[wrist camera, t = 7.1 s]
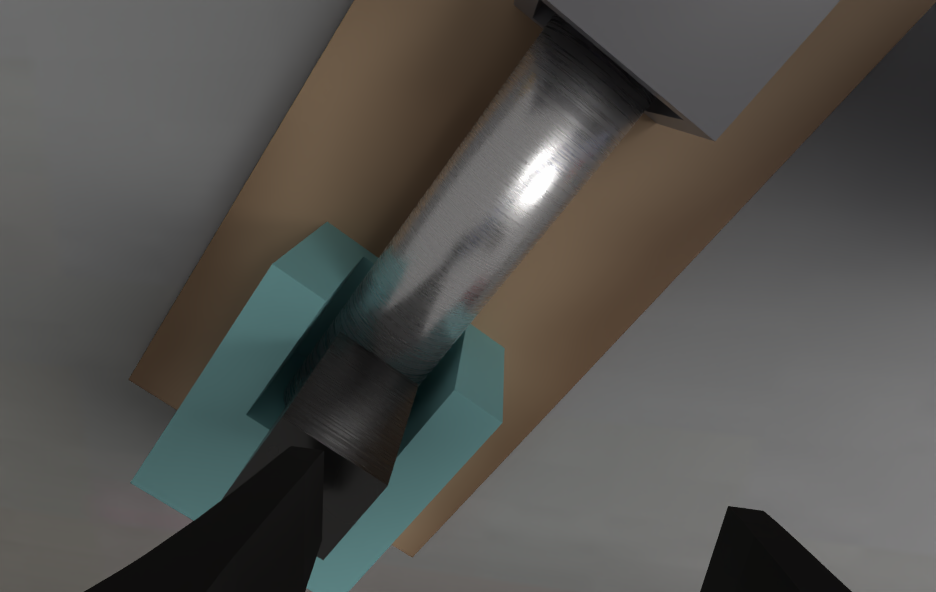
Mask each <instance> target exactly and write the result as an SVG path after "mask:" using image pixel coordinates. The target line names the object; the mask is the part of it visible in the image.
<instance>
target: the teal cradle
mask: <svg viewBox="0 0 936 592" xmlns="http://www.w3.org/2000/svg"><path fill="white" fill-rule="evenodd" d="M377 259H378V257H376V256H375V255H374V254H372V253H371V252H369V251H368V250H367V249H365V248H364V247H362V246H361V245H360V244H358V243H357V242H355V241H354V240H353V239H351V238H350V237H348V236H347V235H346V234H344V233H343V232H341V231H340V230H339V229H337V228H336V227H334V226H333V225H332V224H330V223H329V222H326V223H325V224H323V225H322V226H321V227H319V228H318V229H317V230H316V231H314V232H313V233H312V234H310V235H309V236H308V237H306V238H305V239H304V240H303V241H301V242H300V243H299V244H297V245H296V246H295V247H294V248H292V249H291V250H290V251H288V252H287V253H286V254H284V255H283V256H282V257H281V258H279V259H278V260H277V261H275V262H274V263H273V264H272V265H271V267H270V268H269V270H268V271H267V273H266V274H265V276H264V277H263V279H262V281H261V282H260V284H259V285H258V287H257V288H256V290H255V291H254V293H253V294H252V296H251V297H250V299H249V301H248V302H247V304H246V305H245V307H244V308H243V310H242V311H241V313H240V314H239V316H238V318H237V319H236V321H235V322H234V324H233V325H232V327H231V328H230V330H229V331H228V333H227V334H226V336H225V338H224V339H223V341H222V342H221V344H220V345H219V347H218V348H217V350H216V351H215V353H214V355H213V356H212V358H211V359H210V361H209V362H208V364H207V365H206V367H205V368H204V370H203V372H202V373H201V375H200V376H199V378H198V379H197V381H196V382H195V384H194V385H193V387H192V388H191V390H190V392H189V393H188V395H187V396H186V398H185V399H184V401H183V402H182V404H181V405H180V407H179V409H178V410H177V412H176V413H175V415H174V416H173V418H172V419H171V421H170V422H169V424H168V426H167V427H166V429H165V430H164V432H163V433H162V435H161V436H160V438H159V439H158V441H157V442H156V444H155V446H154V447H153V449H152V450H151V452H150V453H149V455H148V456H147V458H146V459H145V461H144V463H143V464H142V466H141V467H140V469H139V470H138V472H137V473H136V475H135V476H134V478H133V479H132V481H131V484H133V485H135V486H137V487H138V488H140V489H142V490H143V491H145V492H147V493H148V494H150V495H152V496H153V497H155V498H157V499H158V500H160V501H162V502H163V503H165V504H167V505H168V506H170V507H172V508H173V509H175V510H177V511H178V512H180V513H182V514H183V515H185V516H187V517H188V518H190V519H192V520H193V521H194V520H196V519H197V518H198V517H200V516H201V515H202V514H204V513H205V512H206V511H208V510H209V509H210V508H212V507H213V506H214V505H216V504H217V503H218V502H220V501H221V500H222V498H223V497H224V495H225V494H226V492H227V491H228V490H229V488H230V487H231V485H232V484H233V482H234V481H235V479H236V478H237V476H238V475H239V474H240V472H241V471H242V469H243V468H244V466H245V465H246V463H247V462H248V461H249V459H250V458H251V456H252V455H253V453H254V452H255V450H256V449H257V447H258V446H259V445H260V443H261V442H262V440H263V439H264V437H265V436H266V434H267V433H268V432H269V430H270V429H271V427H272V426H273V424H274V423H275V421H276V420H277V418H278V417H279V416H280V414H281V413H282V411H283V410H284V408H285V404H284V391H285V388H286V386H287V384H288V383H289V382H290V380H291V379H292V377H293V376H294V375H295V373H296V372H297V370H298V369H299V368H300V366H301V365H302V364H303V362H304V361H305V359H306V358H307V357H308V355H309V354H310V352H311V351H312V350H313V348H314V347H315V345H316V344H317V343H318V341H319V340H320V339H321V337H322V336H323V334H324V333H325V332H326V330H327V329H328V327H329V326H330V325H331V323H332V322H333V320H334V319H335V318H336V316H337V315H338V314H339V312H340V311H341V309H342V308H343V307H344V305H345V304H346V302H347V301H348V300H349V298H350V297H351V296H352V294H353V293H354V291H355V290H356V289H357V287H358V286H359V284H360V283H361V282H362V280H363V279H364V277H365V276H366V275H367V273H368V272H369V271H370V269H371V268H372V266H373V265H374V264H375V262H376V261H377ZM504 351H505V348H504V347H502V346H501V345H500V344H498V343H497V342H495V341H494V340H493V339H491V338H490V337H488V336H487V335H486V334H484V333H483V332H481V331H480V330H479V329H477V328H476V327H474V326H473V325H472V324H470V325H469V326H468V327H467V328H466V330H465V331H464V332H463V333H462V334H461V336H460V337H459V338H458V339H457V340H456V342H455V343H454V344H453V345H452V347H451V348H450V349H449V350H448V351H447V353H446V354H445V355H444V356H443V357H442V359H441V360H440V361H439V362H438V364H437V365H436V366H435V367H434V368H433V370H432V371H431V372H430V373H429V374H428V376H427V377H426V378H425V379H424V381H423V382H422V383H421V384H420V385H419V387H418V388H417V392H416V395H415V398H414V402H413V405H412V408H411V411H410V415H409V418H408V421H407V425H406V428H405V431H404V434H403V438H402V441H401V444H400V448H399V451H398V454H397V457H396V461H395V464H394V467H393V471H392V474H391V477H390V480H389V484H388V486H387V487H386V489H385V490H384V491H383V492H382V493H381V494H380V496H379V497H378V498H377V499H376V500H375V501H374V502H373V504H372V505H371V506H370V507H369V508H368V509H367V511H366V512H365V513H364V514H363V515H362V516H361V517H360V519H359V520H358V521H357V522H356V523H355V524H354V526H353V527H352V528H351V529H350V530H349V531H348V532H347V534H346V535H345V536H344V537H343V538H342V539H341V541H340V542H339V543H338V544H337V545H336V546H335V547H334V549H333V550H332V551H331V552H330V553H329V554H328V556H327V557H326V558H325V559H324V560H322V559H320V558H318V557H316V560H315V564H314V567H313V570H312V573H311V576H310V579H309V581H308V584H307V587H306V588H307V589H309V590H311V591H312V592H348V591H349V590H350V589H351V588H352V587H353V586H354V585H355V584H356V583H357V582H358V581H359V579H360V578H361V577H362V576H363V575H364V574H365V573H366V572H367V571H368V570H369V568H370V567H371V566H372V565H373V564H374V563H375V562H376V561H377V560H378V559H379V558H380V556H381V555H382V554H383V553H384V552H385V551H386V550H387V549H388V548H389V547H390V546H391V544H392V543H393V542H394V541H395V540H396V539H397V538H398V537H399V536H400V535H401V533H402V532H403V531H404V530H405V529H406V528H407V527H408V526H409V525H410V524H411V523H412V521H413V520H414V519H415V518H416V517H417V516H418V515H419V514H420V513H421V512H422V510H423V509H424V508H425V507H426V506H427V505H428V504H429V503H430V502H431V501H432V500H433V498H434V497H435V496H436V495H437V494H438V493H439V492H440V491H441V490H442V489H443V487H444V486H445V485H446V484H447V483H448V482H449V481H450V480H451V479H452V478H453V477H454V475H455V474H456V473H457V472H458V471H459V470H460V469H461V468H462V467H463V466H464V465H465V463H466V462H467V461H468V460H469V459H470V458H471V457H472V456H473V455H474V454H475V452H476V451H477V450H478V449H479V448H480V447H481V446H482V445H483V444H484V443H485V442H486V440H487V439H488V438H489V437H490V436H491V435H492V434H493V433H494V432H495V431H496V429H497V428H498V427H499V426H500V425H501V424H502V423H503V388H504Z"/></svg>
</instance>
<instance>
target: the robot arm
mask: <svg viewBox="0 0 936 592" xmlns="http://www.w3.org/2000/svg"><path fill="white" fill-rule="evenodd" d="M323 477H324V450H318V449H310V448H303V447H296V446H290V447H289V448H287V449H286V450H285V451H283V452H282V453H281V454H279V455H278V456H277V457H276V458H274V459H273V460H272V461H270V462H269V463H268V464H267V465H265V466H264V467H263V468H262V469H261V470H259V471H258V472H257V473H256V474H254V475H253V476H252V477H251V478H249V479H248V480H247V481H245V482H244V483H243V484H242V485H240V486H239V487H238V488H237V489H235V490H234V491H233V492H231V493H230V494H229V495H228V496H226V497H225V498H224V499H222V500H221V501H220V502H218V503H217V504H216V505H214V506H213V507H212V508H210V509H209V510H208V511H206V512H205V513H204V514H202V515H201V516H200V517H198V518H197V519H196V520H194V521H193V522H192V523H190V524H189V525H187V526H186V527H184V528H183V529H182V530H180V531H179V532H177V533H176V534H174V535H173V536H171V537H170V538H169V539H167V540H166V541H164V542H163V543H161V544H160V545H158V546H157V547H156V548H154V549H153V550H151V551H150V552H148V553H147V554H145V555H144V556H142V557H141V558H139V559H138V560H136V561H134V562H133V563H131V564H130V565H128V566H127V567H125V568H123V569H122V570H120V571H118V572H117V573H115V574H113V575H112V576H110V577H108V578H107V579H105V580H103V581H102V582H100V583H98V584H96V585H95V586H93V587H91V588H90V589H88V590H86V591H84V592H305V590H306V587H307V584H308V581H309V579H310V576H311V573H312V570H313V567H314V564H315V560H316V557H317V554H318V551H319V548H320V545H321V542H322V521H323ZM700 592H852V591H850V590H849V589H848V588H847V587H846V586H845V585H844V584H843V583H842V582H841V581H840V580H839V579H837V578H836V577H835V576H834V575H833V574H832V573H831V572H830V571H829V570H828V569H827V568H826V567H825V566H824V565H822V564H821V563H820V562H819V561H818V560H817V559H816V558H815V557H814V556H813V555H812V554H811V553H810V552H809V551H808V550H806V549H805V548H804V547H803V546H802V545H801V544H800V543H799V542H798V541H797V540H796V539H795V538H794V537H792V536H791V535H790V534H789V533H788V532H787V531H786V530H785V529H784V528H783V527H782V526H780V525H779V524H778V523H777V522H776V521H775V520H774V519H772V518H771V517H770V516H769V515H768V514H767V513H765V512H764V511H760V510H753V509H746V508H738V507H731V506H728V508H727V511H726V514H725V517H724V521H723V524H722V527H721V530H720V533H719V536H718V539H717V542H716V545H715V548H714V551H713V554H712V557H711V560H710V564H709V567H708V570H707V573H706V576H705V579H704V582H703V585H702V588H701V591H700Z"/></svg>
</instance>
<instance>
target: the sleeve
mask: <svg viewBox="0 0 936 592" xmlns="http://www.w3.org/2000/svg"><path fill="white" fill-rule="evenodd" d="M839 1H840V0H514V5H515V6H516V7H517V8H518V9H519V10H521V11H522V12H523V13H524V14H525V15H527V16H528V17H529V18H530V19H531V20H533V21H534V22H535V23H536V24H538V25H539V26H540V27H541V28H542V29H544V28H545V26H546V25H547V23H548V22H549V21H550V19H551V18H552V16H553V15H554V14H555V13H557V14H558V15H559V16H560V17H561V18H563V19H564V20H565V21H566V22H567V23H569V24H570V25H571V26H572V27H573V28H575V29H576V30H577V31H578V32H579V33H580V34H582V35H583V36H584V37H585V38H586V39H588V40H589V41H590V42H591V43H592V44H594V45H595V46H596V47H597V48H598V49H600V50H601V51H602V52H603V53H604V54H606V55H607V56H608V57H609V58H610V59H611V60H613V61H614V62H615V63H616V64H617V65H619V66H620V67H621V68H622V69H623V70H625V71H626V72H627V73H628V74H629V75H631V76H632V77H633V78H634V79H635V80H637V81H638V82H639V83H640V84H641V85H642V86H644V87H645V88H646V89H647V90H648V91H650V92H651V93H652V94H653V95H654V96H656V99H655V100H654V101H653V102H652V104H651V105H650V106H649V107H648V108H647V110H646V111H645V112H644V113H645V114H646V115H647V116H648V117H650V118H651V119H652V120H653V121H654V122H656V123H657V124H660V125H663V126H666V127H670V128H673V129H676V130H679V131H683V132H686V133H689V134H692V135H696V136H699V137H702V138H705V139H709V140H712V141H716V140H717V139H718V138H719V137H720V136H721V135H722V133H723V132H724V131H725V130H726V129H727V128H728V127H729V125H730V124H731V123H732V122H733V121H734V120H735V119H736V118H737V116H738V115H739V114H740V113H741V112H742V111H743V110H744V109H745V107H746V106H747V105H748V104H749V103H750V102H751V101H752V99H753V98H754V97H755V96H756V95H757V94H758V93H759V92H760V90H761V89H762V88H763V87H764V86H765V85H766V84H767V83H768V81H769V80H770V79H771V78H772V77H773V76H774V75H775V73H776V72H777V71H778V70H779V69H780V68H781V67H782V66H783V64H784V63H785V62H786V61H787V60H788V59H789V58H790V57H791V55H792V54H793V53H794V52H795V51H796V50H797V49H798V48H799V46H800V45H801V44H802V43H803V42H804V41H805V40H806V38H807V37H808V36H809V35H810V34H811V33H812V32H813V31H814V29H815V28H816V27H817V26H818V25H819V24H820V23H821V22H822V20H823V19H824V18H825V17H826V16H827V15H828V14H829V12H830V11H831V10H832V9H833V8H834V7H835V6H836V5H837V3H838V2H839Z"/></svg>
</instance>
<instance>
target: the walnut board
mask: <svg viewBox="0 0 936 592" xmlns="http://www.w3.org/2000/svg"><path fill="white" fill-rule="evenodd" d="M935 2H936V0H840V1H839V2H838V3H837V5H836V6H835V7H834V8H833V9H832V10H831V11H830V12H829V14H828V15H827V16H826V17H825V18H824V19H823V20H822V22H821V23H820V24H819V25H818V26H817V27H816V28H815V29H814V31H813V32H812V33H811V34H810V35H809V36H808V37H807V38H806V40H805V41H804V42H803V43H802V44H801V45H800V46H799V48H798V49H797V50H796V51H795V52H794V53H793V54H792V55H791V57H790V58H789V59H788V60H787V61H786V62H785V63H784V64H783V66H782V67H781V68H780V69H779V70H778V71H777V72H776V73H775V75H774V76H773V77H772V78H771V79H770V80H769V81H768V83H767V84H766V85H765V86H764V87H763V88H762V89H761V90H760V92H759V93H758V94H757V95H756V96H755V97H754V98H753V99H752V101H751V102H750V103H749V104H748V105H747V106H746V107H745V109H744V110H743V111H742V112H741V113H740V114H739V115H738V116H737V118H736V119H735V120H734V121H733V122H732V123H731V124H730V125H729V127H728V128H727V129H726V130H725V131H724V132H723V133H722V135H721V136H720V137H719V138H718V139H717V140H716V141H712V140H709V139H705V138H702V137H699V136H696V135H692V134H689V133H686V132H683V131H679V130H676V129H673V128H670V127H666V126H663V125H660V124H657V123H656V122H654V121H653V120H652V119H651V118H650V117H648V116H647V115H646V114H645V113H643V114H642V116H641V117H640V118H639V119H638V121H637V122H636V123H635V124H634V125H633V127H632V128H631V129H630V130H629V131H628V133H627V134H626V135H625V136H624V138H623V139H622V140H621V141H620V142H619V144H618V145H617V146H616V147H615V148H614V150H613V151H612V152H611V153H610V155H609V156H608V157H607V158H606V159H605V161H604V162H603V163H602V164H601V165H600V167H599V168H598V169H597V170H596V172H595V173H594V174H593V175H592V176H591V178H590V179H589V180H588V181H587V182H586V184H585V185H584V186H583V187H582V189H581V190H580V191H579V192H578V193H577V195H576V196H575V197H574V198H573V199H572V201H571V202H570V203H569V204H568V206H567V207H566V208H565V209H564V210H563V212H562V213H561V214H560V215H559V217H558V218H557V219H556V220H555V221H554V223H553V224H552V225H551V226H550V227H549V229H548V230H547V231H546V232H545V234H544V235H543V236H542V237H541V238H540V240H539V241H538V242H537V243H536V244H535V246H534V247H533V248H532V249H531V251H530V252H529V253H528V254H527V255H526V257H525V258H524V259H523V260H522V261H521V263H520V264H519V265H518V266H517V268H516V269H515V270H514V271H513V272H512V274H511V275H510V276H509V277H508V278H507V280H506V281H505V282H504V283H503V285H502V286H501V287H500V288H499V289H498V291H497V292H496V293H495V294H494V295H493V297H492V298H491V299H490V300H489V302H488V303H487V304H486V305H485V306H484V308H483V309H482V310H481V311H480V312H479V314H478V315H477V316H476V317H475V319H474V320H473V321H472V322H471V323H470V324H472V325H473V326H474V327H476V328H477V329H479V330H480V331H481V332H483V333H484V334H486V335H487V336H488V337H490V338H491V339H493V340H494V341H495V342H497V343H498V344H500V345H501V346H502V347H504V348H505V351H504V388H503V423H502V424H501V425H500V426H499V427H498V428H497V429H496V431H495V432H494V433H493V434H492V435H491V436H490V437H489V438H488V439H487V440H486V442H485V443H484V444H483V445H482V446H481V447H480V448H479V449H478V450H477V451H476V452H475V454H474V455H473V456H472V457H471V458H470V459H469V460H468V461H467V462H466V463H465V465H464V466H463V467H462V468H461V469H460V470H459V471H458V472H457V473H456V474H455V475H454V477H453V478H452V479H451V480H450V481H449V482H448V483H447V484H446V485H445V486H444V487H443V489H442V490H441V491H440V492H439V493H438V494H437V495H436V496H435V497H434V498H433V500H432V501H431V502H430V503H429V504H428V505H427V506H426V507H425V508H424V509H423V510H422V512H421V513H420V514H419V515H418V516H417V517H416V518H415V519H414V520H413V521H412V523H411V524H410V525H409V526H408V527H407V528H406V529H405V530H404V531H403V532H402V533H401V535H400V536H399V537H398V538H397V539H396V540H395V541H394V542H393V543H392V544H391V545H393V546H395V547H396V548H398V549H399V550H401V551H403V552H404V553H406V554H407V555H409V556H411V557H413V556H414V555H415V554H416V553H417V552H418V551H419V550H420V549H421V548H422V547H423V546H424V544H425V543H426V542H427V541H428V540H429V539H430V538H431V537H432V536H433V535H434V534H435V533H436V532H437V531H438V530H439V529H440V527H441V526H442V525H443V524H444V523H445V522H446V521H447V520H448V519H449V518H450V517H451V516H452V515H453V514H454V513H455V512H456V511H457V509H458V508H459V507H460V506H461V505H462V504H463V503H464V502H465V501H466V500H467V499H468V498H469V497H470V496H471V495H472V494H473V492H474V491H475V490H476V489H477V488H478V487H479V486H480V485H481V484H482V483H483V482H484V481H485V480H486V479H487V478H488V477H489V475H490V474H491V473H492V472H493V471H494V470H495V469H496V468H497V467H498V466H499V465H500V464H501V463H502V462H503V461H504V460H505V459H506V457H507V456H508V455H509V454H510V453H511V452H512V451H513V450H514V449H515V448H516V447H517V446H518V445H519V444H520V443H521V442H522V440H523V439H524V438H525V437H526V436H527V435H528V434H529V433H530V432H531V431H532V430H533V429H534V428H535V427H536V426H537V425H538V424H539V422H540V421H541V420H542V419H543V418H544V417H545V416H546V415H547V414H548V413H549V412H550V411H551V410H552V409H553V408H554V407H555V405H556V404H557V403H558V402H559V401H560V400H561V399H562V398H563V397H564V396H565V395H566V394H567V393H568V392H569V391H570V390H571V389H572V387H573V386H574V385H575V384H576V383H577V382H578V381H579V380H580V379H581V378H582V377H583V376H584V375H585V374H586V373H587V372H588V370H589V369H590V368H591V367H592V366H593V365H594V364H595V363H596V362H597V361H598V360H599V359H600V358H601V357H602V356H603V355H604V354H605V352H606V351H607V350H608V349H609V348H610V347H611V346H612V345H613V344H614V343H615V342H616V341H617V340H618V339H619V338H620V337H621V335H622V334H623V333H624V332H625V331H626V330H627V329H628V328H629V327H630V326H631V325H632V324H633V323H634V322H635V321H636V320H637V319H638V317H639V316H640V315H641V314H642V313H643V312H644V311H645V310H646V309H647V308H648V307H649V306H650V305H651V304H652V303H653V302H654V300H655V299H656V298H657V297H658V296H659V295H660V294H661V293H662V292H663V291H664V290H665V289H666V288H667V287H668V286H669V285H670V284H671V282H672V281H673V280H674V279H675V278H676V277H677V276H678V275H679V274H680V273H681V272H682V271H683V270H684V269H685V268H686V267H687V265H688V264H689V263H690V262H691V261H692V260H693V259H694V258H695V257H696V256H697V255H698V254H699V253H700V252H701V251H702V250H703V249H704V247H705V246H706V245H707V244H708V243H709V242H710V241H711V240H712V239H713V238H714V237H715V236H716V235H717V234H718V233H719V232H720V230H721V229H722V228H723V227H724V226H725V225H726V224H727V223H728V222H729V221H730V220H731V219H732V218H733V217H734V216H735V215H736V213H737V212H738V211H739V210H740V209H741V208H742V207H743V206H744V205H745V204H746V203H747V202H748V201H749V200H750V199H751V198H752V197H753V195H754V194H755V193H756V192H757V191H758V190H759V189H760V188H761V187H762V186H763V185H764V184H765V183H766V182H767V181H768V180H769V178H770V177H771V176H772V175H773V174H774V173H775V172H776V171H777V170H778V169H779V168H780V167H781V166H782V165H783V164H784V163H785V162H786V160H787V159H788V158H789V157H790V156H791V155H792V154H793V153H794V152H795V151H796V150H797V149H798V148H799V147H800V146H801V145H802V143H803V142H804V141H805V140H806V139H807V138H808V137H809V136H810V135H811V134H812V133H813V132H814V131H815V130H816V129H817V128H818V127H819V125H820V124H821V123H822V122H823V121H824V120H825V119H826V118H827V117H828V116H829V115H830V114H831V113H832V112H833V111H834V110H835V108H836V107H837V106H838V105H839V104H840V103H841V102H842V101H843V100H844V99H845V98H846V97H847V96H848V95H849V94H850V93H851V92H852V90H853V89H854V88H855V87H856V86H857V85H858V84H859V83H860V82H861V81H862V80H863V79H864V78H865V77H866V76H867V75H868V73H869V72H870V71H871V70H872V69H873V68H874V67H875V66H876V65H877V64H878V63H879V62H880V61H881V60H882V59H883V58H884V57H885V55H886V54H887V53H888V52H889V51H890V50H891V49H892V48H893V47H894V46H895V45H896V44H897V43H898V42H899V41H900V40H901V38H902V37H903V36H904V35H905V34H906V33H907V32H908V31H909V30H910V29H911V28H912V27H913V26H914V25H915V24H916V23H917V22H918V20H919V19H920V18H921V17H922V16H923V15H924V14H925V13H926V12H927V11H928V10H929V9H930V8H931V7H932V6H933V5H934V3H935ZM542 30H543V29H542V28H541V27H540V26H539V25H538V24H536V23H535V22H534V21H533V20H531V19H530V18H529V17H528V16H527V15H525V14H524V13H523V12H522V11H521V10H519V9H518V8H517V7H516V6H515V5H514V0H354V2H353V3H352V5H351V7H350V8H349V10H348V12H347V13H346V15H345V17H344V18H343V20H342V22H341V23H340V25H339V27H338V28H337V30H336V32H335V34H334V35H333V37H332V39H331V40H330V42H329V44H328V45H327V47H326V49H325V50H324V52H323V54H322V55H321V57H320V59H319V60H318V62H317V64H316V65H315V67H314V69H313V70H312V72H311V74H310V76H309V77H308V79H307V81H306V82H305V84H304V86H303V87H302V89H301V91H300V92H299V94H298V96H297V97H296V99H295V101H294V102H293V104H292V106H291V107H290V109H289V111H288V112H287V114H286V116H285V118H284V119H283V121H282V123H281V124H280V126H279V128H278V129H277V131H276V133H275V134H274V136H273V138H272V139H271V141H270V143H269V144H268V146H267V148H266V149H265V151H264V153H263V154H262V156H261V158H260V160H259V161H258V163H257V165H256V166H255V168H254V170H253V171H252V173H251V175H250V176H249V178H248V180H247V181H246V183H245V185H244V186H243V188H242V190H241V191H240V193H239V195H238V196H237V198H236V200H235V201H234V203H233V205H232V207H231V208H230V210H229V212H228V213H227V215H226V217H225V218H224V220H223V222H222V223H221V225H220V227H219V228H218V230H217V232H216V233H215V235H214V237H213V238H212V240H211V242H210V243H209V245H208V247H207V249H206V250H205V252H204V254H203V255H202V257H201V259H200V260H199V262H198V264H197V265H196V267H195V269H194V270H193V272H192V274H191V275H190V277H189V279H188V280H187V282H186V284H185V285H184V287H183V289H182V291H181V292H180V294H179V296H178V297H177V299H176V301H175V302H174V304H173V306H172V307H171V309H170V311H169V312H168V314H167V316H166V317H165V319H164V321H163V322H162V324H161V326H160V327H159V329H158V331H157V333H156V334H155V336H154V338H153V339H152V341H151V343H150V344H149V346H148V348H147V349H146V351H145V353H144V354H143V356H142V358H141V359H140V361H139V363H138V364H137V366H136V368H135V369H134V371H133V373H132V374H131V376H130V378H129V380H130V381H131V382H133V383H135V384H136V385H138V386H139V387H141V388H143V389H144V390H146V391H147V392H149V393H151V394H152V395H154V396H155V397H157V398H159V399H160V400H162V401H163V402H165V403H166V404H168V405H170V406H171V407H173V408H174V409H176V410H178V409H179V407H180V405H181V404H182V402H183V401H184V399H185V398H186V396H187V395H188V393H189V392H190V390H191V388H192V387H193V385H194V384H195V382H196V381H197V379H198V378H199V376H200V375H201V373H202V372H203V370H204V368H205V367H206V365H207V364H208V362H209V361H210V359H211V358H212V356H213V355H214V353H215V351H216V350H217V348H218V347H219V345H220V344H221V342H222V341H223V339H224V338H225V336H226V334H227V333H228V331H229V330H230V328H231V327H232V325H233V324H234V322H235V321H236V319H237V318H238V316H239V314H240V313H241V311H242V310H243V308H244V307H245V305H246V304H247V302H248V301H249V299H250V297H251V296H252V294H253V293H254V291H255V290H256V288H257V287H258V285H259V284H260V282H261V281H262V279H263V277H264V276H265V274H266V273H267V271H268V270H269V268H270V267H271V265H272V264H273V263H274V262H275V261H277V260H278V259H279V258H281V257H282V256H283V255H284V254H286V253H287V252H288V251H290V250H291V249H292V248H294V247H295V246H296V245H297V244H299V243H300V242H301V241H303V240H304V239H305V238H306V237H308V236H309V235H310V234H312V233H313V232H314V231H316V230H317V229H318V228H319V227H321V226H322V225H323V224H325V223H326V222H329V223H330V224H332V225H333V226H334V227H336V228H337V229H339V230H340V231H341V232H343V233H344V234H346V235H347V236H348V237H350V238H351V239H353V240H354V241H355V242H357V243H358V244H360V245H361V246H362V247H364V248H365V249H367V250H368V251H369V252H371V253H372V254H374V255H375V256H376V257H378V258H379V257H380V255H381V254H382V252H383V251H384V250H385V248H386V247H387V246H388V244H389V243H390V241H391V240H392V239H393V237H394V236H395V234H396V233H397V232H398V230H399V229H400V227H401V226H402V225H403V223H404V222H405V221H406V219H407V218H408V216H409V215H410V214H411V212H412V211H413V209H414V208H415V207H416V205H417V204H418V202H419V201H420V200H421V198H422V197H423V196H424V194H425V193H426V191H427V190H428V189H429V187H430V186H431V184H432V183H433V182H434V180H435V179H436V178H437V176H438V175H439V173H440V172H441V171H442V169H443V168H444V166H445V165H446V164H447V162H448V161H449V159H450V158H451V157H452V155H453V154H454V153H455V151H456V150H457V148H458V147H459V146H460V144H461V143H462V141H463V140H464V139H465V137H466V136H467V134H468V133H469V132H470V130H471V129H472V128H473V126H474V125H475V123H476V122H477V121H478V119H479V118H480V116H481V115H482V114H483V112H484V111H485V109H486V108H487V107H488V105H489V104H490V103H491V101H492V100H493V98H494V97H495V96H496V94H497V93H498V91H499V90H500V89H501V87H502V86H503V85H504V83H505V82H506V80H507V79H508V78H509V76H510V75H511V73H512V72H513V71H514V69H515V68H516V66H517V65H518V64H519V62H520V61H521V60H522V58H523V57H524V55H525V54H526V53H527V51H528V50H529V48H530V47H531V46H532V44H533V43H534V41H535V40H536V39H537V37H538V36H539V35H540V33H541V32H542Z"/></svg>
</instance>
